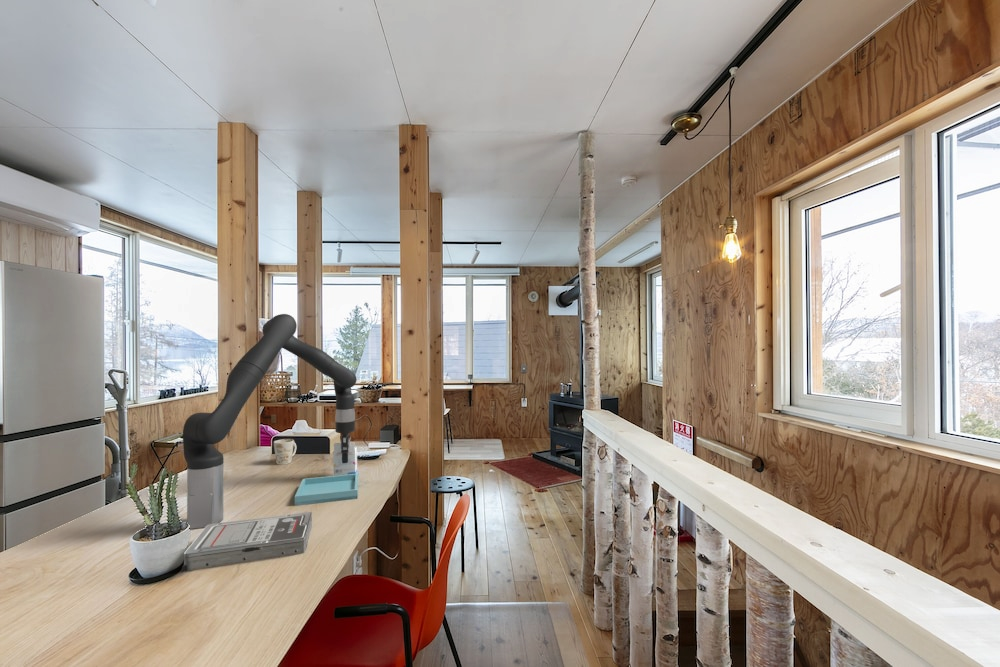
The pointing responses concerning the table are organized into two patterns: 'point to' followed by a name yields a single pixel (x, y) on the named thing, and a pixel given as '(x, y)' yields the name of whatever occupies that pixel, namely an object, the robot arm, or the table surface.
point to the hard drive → (249, 541)
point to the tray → (327, 489)
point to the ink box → (345, 467)
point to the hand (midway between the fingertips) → (345, 460)
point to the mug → (284, 451)
